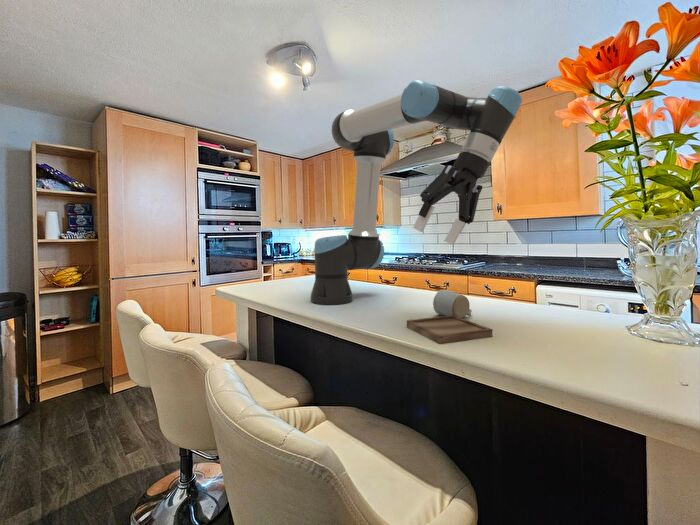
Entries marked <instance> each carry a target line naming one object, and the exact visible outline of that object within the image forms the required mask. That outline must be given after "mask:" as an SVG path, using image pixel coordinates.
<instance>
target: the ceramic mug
mask: <svg viewBox="0 0 700 525" xmlns="http://www.w3.org/2000/svg"><path fill="white" fill-rule="evenodd" d="M432 305H433V307H432V308H433V310H434V312H435V313H436V314H438V315H441V316H451V315H453V316H456V317H459V318H462V319H464V318H465V317H466V316H467V315H468V316H471V314H472V311H473V310H472V309H470V306H471V305H470V300H469V298H468V297H467V296H465V295H463V294H461V293H458V292H455V291H451V290H448V289H440V290H438V292H437V293H436V294H435V295H434V297H433V302H432Z"/></svg>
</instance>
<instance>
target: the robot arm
mask: <svg viewBox="0 0 700 525" xmlns="http://www.w3.org/2000/svg"><path fill="white" fill-rule="evenodd" d="M522 103H523V98H522V95H521V94H520V93H519V91H517V90H516V89H514V88H512V87H509V86H506V85H505V86H504V85H498V86H495V87H493V88H492V89H491V90H490V92H489V93H487V97H470V96H466V95H465V96H464V95H462V94H460V93H457V92H455V91H452V90H449V89H446V88H443V87H441V86H439V85H436V84H435V83H432V82H430V81H426V80H425V81H424V80H420V79H415V80H412V81H410V82H409V83H408V85H407V86H405V88H404V89H403V92H402V93H401V94H398V95H396V96H393V97H389V98H388V99H385V100H382V101H379V102H376V103H373V104H371V105H368V106H365V107H363V108H360V109H358V110H356V109H352V108H351V109H348V110H347V109H346V110H344V111H341V113H339V114H337V116H336V117H335V118H334V119H333V121H332V124H331V135H332V138H333V140H334V142H335V143H336V144H337V145H338V146H339V147H340V148H341V149H344V150H346V151H350V152H353V159H354V161H355V162H356V175H355V176H356V177H355V178H356V179H355V191H354V205H353V206H354V208H353V220H352V229H351V230H350V231H349V232H348V234H347V235H346V234H345V235H343V234H342V235H333V236H324V237H320V238H318V239H316V240H315V241H314V250H313V252H314V275H315V276H314V277H315V278H314V282H313V286H312V290H311V293H310V302H312V303H313V304H317V305H344V304H348V303H350V302H353V300H354V299H353V296H354V295H353V292H352V288H351V285H350V283H349V280H348V271H356V270H358V271H359V270H369V269H375V268H376V267H378V266H379V265H380V264H381V263H382V261H383V259H384V256H385V247H384V243H383V242H382V240H380V238H379V237H380V234H379V233H378V232H377V231H376V227H377V214H378V202H379V194H380V193H379V191H380V181H381V180H380V179H381V178H380V177H381V169H382V168H381V166H382V164H383V163H384V162H386V157H387V156H388V155H390V153H391V152H392V150H393V147H394V143H395V134H394V131H393V130H395V129H397V128H403V127H406V126H410V125H413V124H415V125H416V124H418V123H422V122H431V123H434V124H438V125H440V126H442V127H443V128H447V129H451V130H460V131H461V130H462V131H467V132H468V131H469V133H468V135H467V138H466V140H465V141H464V143H463V145H462V147H461V152H459V154H458V156H457V157H456V159H455V161H454V163H453V165H449V164H446V165H444V167H443V169H442V171H441V172H440V174H438V175H437V177H436V178H435V179H433V180H432V182H431V183H430V184H429V185H428V186H427V187H426V188H425V189H424V190H423V191H422V192H421V193H420V194H419V195H420V198H421V199H420V200H421V202H423V204H422V206H421V208H420V210H419V212H418V217H417V219H416V220H415V223H414V225H413V227H412V228H413V229H414V230H416V231H418V232H420V233H423V232H424V230H425V228H426V226H427V224H428V222H429V220H430V218H431V216H432V215H433V213H434V210H435V208H436V207H435V204H436V203H438V202H439V201H441V200H442V199H444V198H445V197H447V196H448V195H449V194H451V193H453V192H454V194H456V195H457V197H458V219H457V218H455V220H454V222H453V223H452V225H451V227H450V229H449V231H448V233H447V235H446V237H445V239H444V242H445V243H448V244H449V245H451V246H454V245H455V243H456V241H457V239H458V238H459V237H460V234H461V232H462V231H463V229H464V227H465V226H466V224H467V225H470V224H471V223H473V222H474V220H475V217H476V211H477V206H478V202H479V198H480V194H481V192H482V190H483V185H481V184H478V183H477V181H478V179H482V178H483V177H484V176H485V174H486V173H487V171H488V169H489V166H490V163H489V162H491V161H492V160H493V158H494V156H495V155H496V152H497V151H498V148H499V147H500V145H501V144H502V141H503V139H504V137H505V135H506V134H507V131H508V130H509V128H510V127H511V125H512V123H513V121H514V120H515V119H516V116H517V114H518V111H519V110H520V107H521V104H522Z"/></svg>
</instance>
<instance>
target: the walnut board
mask: <svg viewBox="0 0 700 525" xmlns="http://www.w3.org/2000/svg"><path fill="white" fill-rule="evenodd" d="M406 328H408V329H410V330H412V331H414V333H415V332H416V333H418V335H421V336H423V337H425V338H427V339H429V340H431V341H432V342H435V343H437V344H439V345H442V344H451V343H456V342H457V343H458V342H463V341H471V340H479V339H483V338H485V339H486V338H492V337H493V329H492V328H490V327H487V326H485V325H483V324H482V325H481V324H478V323H476V322H473V321H471V320H467V319H464V318H459V317H456V316H453V315H451V316H444V315H441V316H435V317H425V318H417V319H407V320H406Z"/></svg>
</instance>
